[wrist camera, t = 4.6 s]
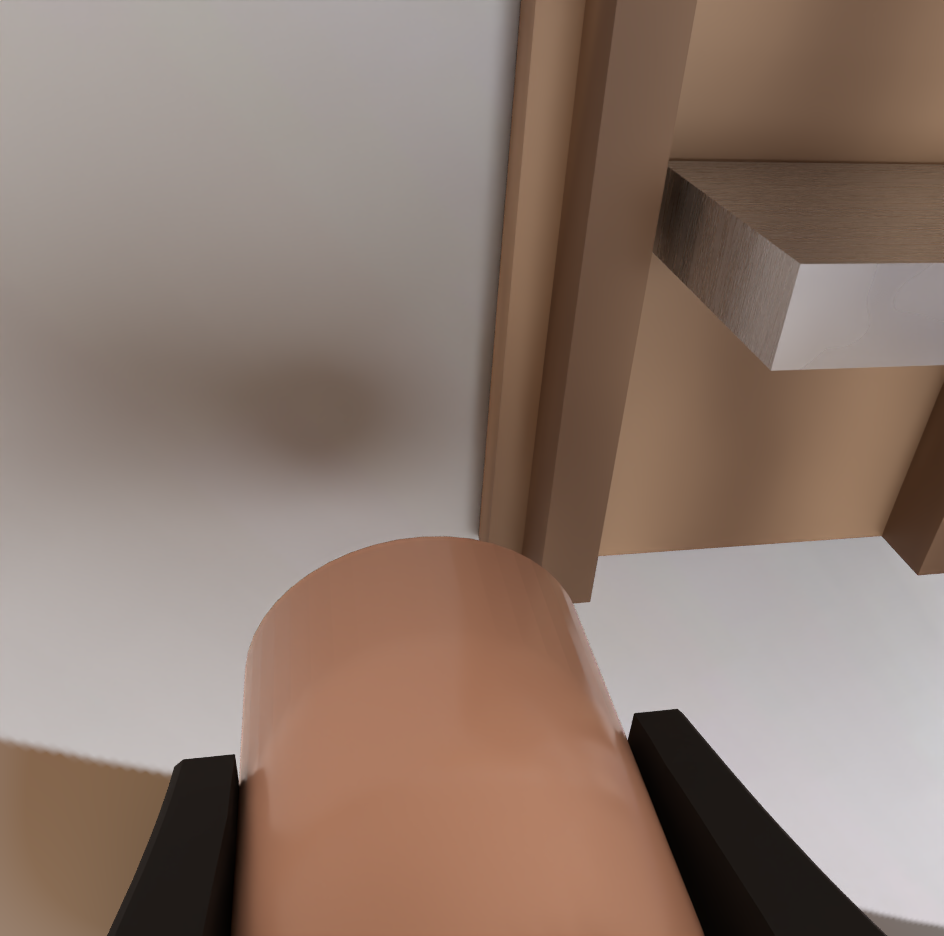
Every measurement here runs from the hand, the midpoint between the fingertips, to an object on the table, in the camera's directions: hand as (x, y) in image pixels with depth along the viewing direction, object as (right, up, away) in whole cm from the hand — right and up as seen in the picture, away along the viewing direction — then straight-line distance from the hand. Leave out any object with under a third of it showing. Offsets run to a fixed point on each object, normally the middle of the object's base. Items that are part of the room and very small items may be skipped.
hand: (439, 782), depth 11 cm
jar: (0, +1, +2) cm, 2 cm away
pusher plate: (+7, +9, +5) cm, 12 cm away
